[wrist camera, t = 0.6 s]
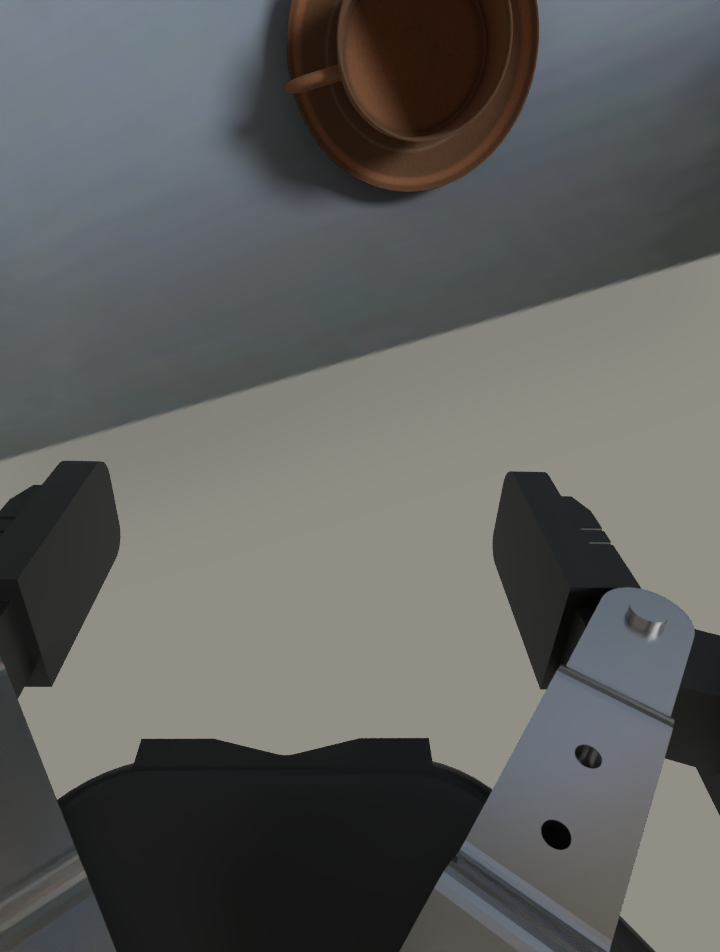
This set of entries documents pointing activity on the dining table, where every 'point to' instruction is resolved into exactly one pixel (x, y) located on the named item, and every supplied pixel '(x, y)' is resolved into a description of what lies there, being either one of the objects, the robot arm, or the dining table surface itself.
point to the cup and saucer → (411, 83)
